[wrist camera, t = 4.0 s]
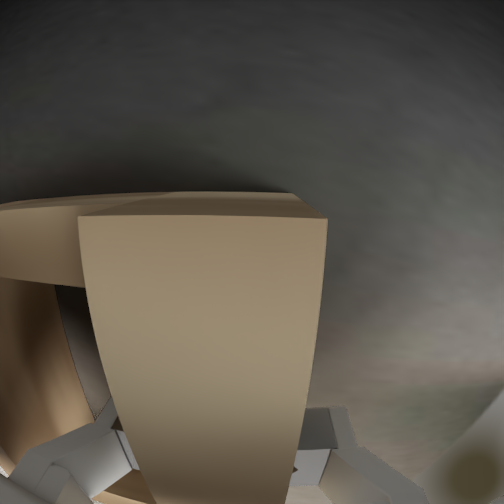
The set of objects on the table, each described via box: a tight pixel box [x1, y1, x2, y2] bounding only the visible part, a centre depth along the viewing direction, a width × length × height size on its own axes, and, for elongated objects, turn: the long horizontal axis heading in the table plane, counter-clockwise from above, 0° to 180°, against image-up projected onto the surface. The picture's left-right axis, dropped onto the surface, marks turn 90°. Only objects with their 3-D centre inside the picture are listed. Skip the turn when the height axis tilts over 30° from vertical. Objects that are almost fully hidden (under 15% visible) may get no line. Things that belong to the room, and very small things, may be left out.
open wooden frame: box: [0, 192, 328, 504], centre depth 7 cm, size 12×9×5 cm
